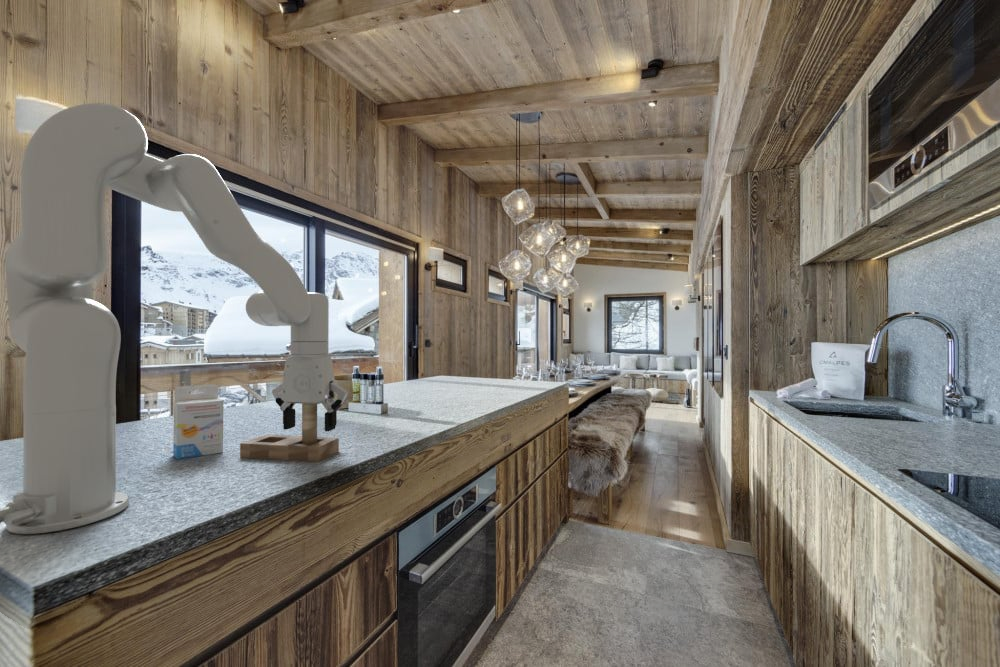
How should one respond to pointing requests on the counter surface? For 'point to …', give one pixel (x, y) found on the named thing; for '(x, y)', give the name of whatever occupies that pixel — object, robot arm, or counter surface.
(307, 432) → the peg
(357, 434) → the counter surface
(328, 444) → the socket block
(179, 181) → the robot arm
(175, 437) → the ink box
